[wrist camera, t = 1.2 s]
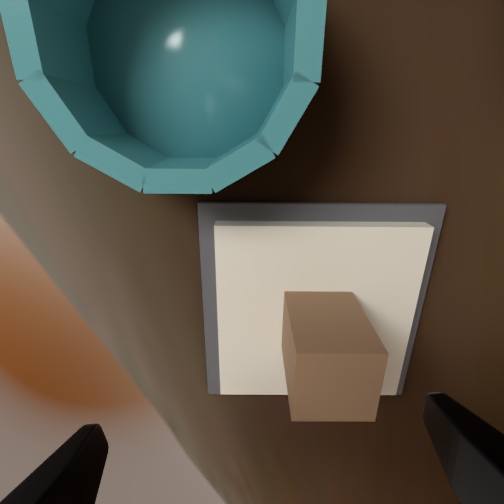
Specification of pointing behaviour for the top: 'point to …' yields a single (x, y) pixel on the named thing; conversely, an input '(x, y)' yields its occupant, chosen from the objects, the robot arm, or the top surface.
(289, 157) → the top surface
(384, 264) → the lid
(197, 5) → the bowl
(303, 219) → the mat
